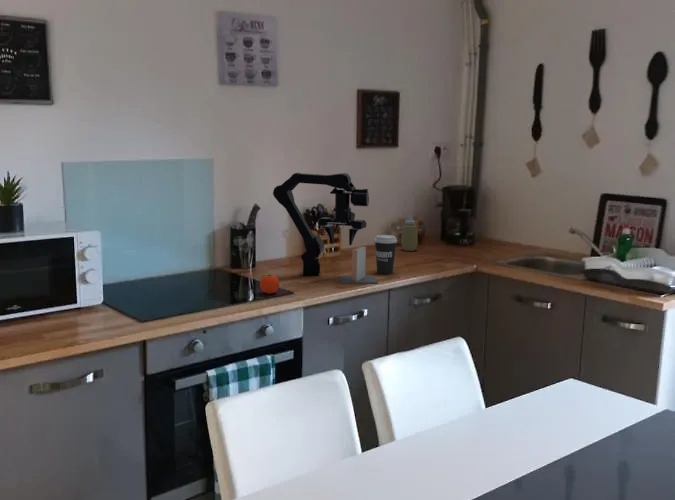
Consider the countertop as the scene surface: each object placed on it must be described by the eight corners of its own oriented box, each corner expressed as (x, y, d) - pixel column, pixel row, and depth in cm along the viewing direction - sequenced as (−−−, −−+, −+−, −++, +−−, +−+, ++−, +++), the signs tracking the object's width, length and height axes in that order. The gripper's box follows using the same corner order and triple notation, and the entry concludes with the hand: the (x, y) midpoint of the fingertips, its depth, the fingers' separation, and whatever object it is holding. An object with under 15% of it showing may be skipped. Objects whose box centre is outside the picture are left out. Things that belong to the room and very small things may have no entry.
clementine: (254, 292, 253) (253, 273, 252) (269, 289, 258) (269, 270, 257) (268, 296, 248) (268, 277, 246) (283, 293, 252) (283, 274, 251)
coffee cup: (369, 270, 293) (370, 235, 290) (390, 269, 296) (391, 234, 293) (378, 275, 284) (379, 238, 281) (400, 273, 287) (401, 237, 284)
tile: (351, 280, 272) (352, 250, 270) (359, 276, 279) (359, 246, 277) (357, 281, 271) (358, 250, 269) (365, 276, 278) (365, 247, 276)
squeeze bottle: (398, 249, 341) (399, 212, 338) (413, 248, 344) (414, 211, 340) (404, 252, 334) (405, 214, 330) (420, 251, 336) (421, 214, 333)
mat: (341, 283, 268) (341, 282, 268) (338, 276, 280) (338, 275, 280) (378, 283, 270) (378, 282, 270) (373, 276, 281) (373, 275, 281)
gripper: (371, 204, 279) (370, 243, 282) (329, 201, 287) (328, 239, 290) (361, 207, 269) (360, 247, 272) (317, 204, 277) (317, 243, 280)
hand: (341, 244), depth 279 cm, fingers open, 7 cm apart
